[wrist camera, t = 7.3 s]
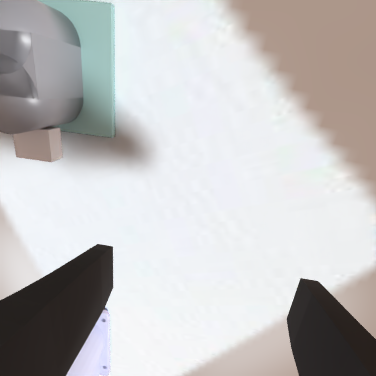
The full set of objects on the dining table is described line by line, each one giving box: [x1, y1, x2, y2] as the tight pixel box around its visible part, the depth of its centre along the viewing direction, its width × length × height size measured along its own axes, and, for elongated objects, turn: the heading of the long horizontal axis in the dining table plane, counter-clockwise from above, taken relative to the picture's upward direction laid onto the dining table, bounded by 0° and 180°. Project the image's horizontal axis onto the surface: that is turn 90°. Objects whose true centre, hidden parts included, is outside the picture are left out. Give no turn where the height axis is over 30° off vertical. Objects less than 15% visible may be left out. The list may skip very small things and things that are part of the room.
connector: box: [0, 0, 83, 162], centre depth 15 cm, size 9×4×4 cm, turn 174°
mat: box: [37, 0, 115, 138], centre depth 17 cm, size 8×8×1 cm
